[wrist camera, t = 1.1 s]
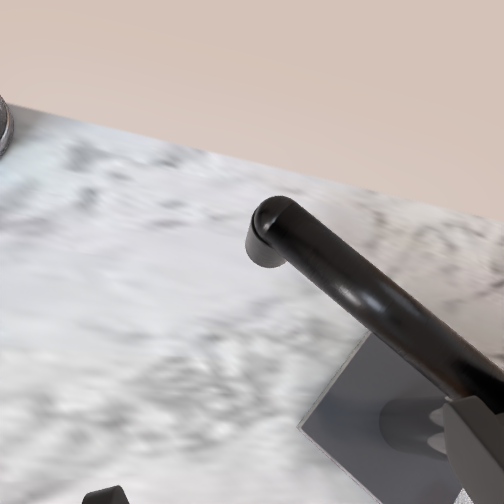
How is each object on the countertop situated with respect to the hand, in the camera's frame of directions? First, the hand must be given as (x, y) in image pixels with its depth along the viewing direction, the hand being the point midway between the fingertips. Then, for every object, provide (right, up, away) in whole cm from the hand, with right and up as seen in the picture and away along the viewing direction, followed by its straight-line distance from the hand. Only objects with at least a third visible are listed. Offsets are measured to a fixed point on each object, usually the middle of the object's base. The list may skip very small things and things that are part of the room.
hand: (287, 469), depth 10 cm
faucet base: (+10, -8, +21) cm, 25 cm away
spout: (+6, +1, +12) cm, 13 cm away
